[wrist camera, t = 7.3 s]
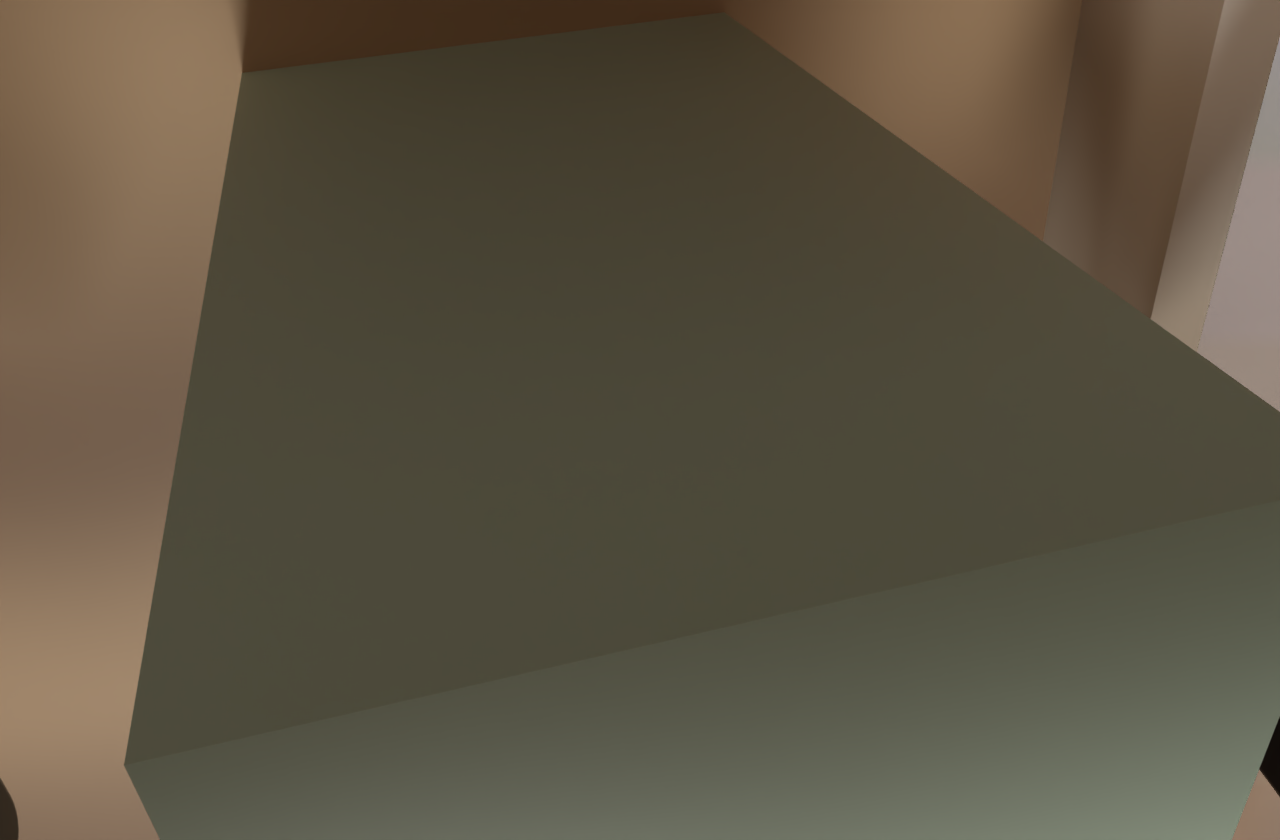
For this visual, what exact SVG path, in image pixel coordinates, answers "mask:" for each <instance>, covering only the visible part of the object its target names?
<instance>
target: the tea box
mask: <svg viewBox="0 0 1280 840" xmlns="http://www.w3.org/2000/svg"><path fill="white" fill-rule="evenodd" d="M1279 717H1280V412H1279V411H1278V410H1276V409H1275V408H1273V407H1272V406H1271V405H1269V404H1268V403H1266V402H1265V401H1264V400H1262V399H1261V398H1260V397H1258V396H1257V395H1255V394H1254V393H1253V392H1251V391H1250V390H1248V389H1247V388H1246V387H1244V386H1243V385H1241V384H1240V383H1239V382H1237V381H1236V380H1235V379H1233V378H1232V377H1230V376H1229V375H1228V374H1226V373H1225V372H1223V371H1222V370H1221V369H1219V368H1218V367H1216V366H1215V365H1214V364H1212V363H1211V362H1210V361H1208V360H1207V359H1205V358H1204V357H1203V356H1201V355H1200V354H1198V353H1197V352H1196V351H1194V350H1193V349H1191V348H1190V347H1189V346H1187V345H1186V344H1185V343H1183V342H1182V341H1180V340H1179V339H1178V338H1176V337H1175V336H1173V335H1172V334H1171V333H1169V332H1168V331H1166V330H1165V329H1164V328H1162V327H1161V326H1159V325H1158V324H1157V323H1155V322H1154V321H1153V320H1151V319H1150V318H1148V317H1147V316H1146V315H1144V314H1143V313H1141V312H1140V311H1139V310H1137V309H1136V308H1134V307H1133V306H1132V305H1130V304H1129V303H1128V302H1126V301H1125V300H1123V299H1122V298H1121V297H1119V296H1118V295H1116V294H1115V293H1114V292H1112V291H1111V290H1109V289H1108V288H1107V287H1105V286H1104V285H1103V284H1101V283H1100V282H1098V281H1097V280H1096V279H1094V278H1093V277H1091V276H1090V275H1089V274H1087V273H1086V272H1084V271H1083V270H1082V269H1080V268H1079V267H1078V266H1076V265H1075V264H1073V263H1072V262H1071V261H1069V260H1068V259H1066V258H1065V257H1064V256H1062V255H1061V254H1059V253H1058V252H1057V251H1055V250H1054V249H1052V248H1051V247H1050V246H1048V245H1047V244H1046V243H1044V242H1043V241H1041V240H1040V239H1039V238H1037V237H1036V236H1034V235H1033V234H1032V233H1030V232H1029V231H1027V230H1026V229H1025V228H1023V227H1022V226H1021V225H1019V224H1018V223H1016V222H1015V221H1014V220H1012V219H1011V218H1009V217H1008V216H1007V215H1005V214H1004V213H1002V212H1001V211H1000V210H998V209H997V208H996V207H994V206H993V205H991V204H990V203H989V202H987V201H986V200H984V199H983V198H982V197H980V196H979V195H977V194H976V193H975V192H973V191H972V190H971V189H969V188H968V187H966V186H965V185H964V184H962V183H961V182H959V181H958V180H957V179H955V178H954V177H952V176H951V175H950V174H948V173H947V172H945V171H944V170H943V169H941V168H940V167H939V166H937V165H936V164H934V163H933V162H932V161H930V160H929V159H927V158H926V157H925V156H923V155H922V154H920V153H919V152H918V151H916V150H915V149H914V148H912V147H911V146H909V145H908V144H907V143H905V142H904V141H902V140H901V139H900V138H898V137H897V136H895V135H894V134H893V133H891V132H890V131H889V130H887V129H886V128H884V127H883V126H882V125H880V124H879V123H877V122H876V121H875V120H873V119H872V118H870V117H869V116H868V115H866V114H865V113H864V112H862V111H861V110H859V109H858V108H857V107H855V106H854V105H852V104H851V103H850V102H848V101H847V100H845V99H844V98H843V97H841V96H840V95H838V94H837V93H836V92H834V91H833V90H832V89H830V88H829V87H827V86H826V85H825V84H823V83H822V82H820V81H819V80H818V79H816V78H815V77H813V76H812V75H811V74H809V73H808V72H807V71H805V70H804V69H802V68H801V67H800V66H798V65H797V64H795V63H794V62H793V61H791V60H790V59H788V58H787V57H786V56H784V55H783V54H782V53H780V52H779V51H777V50H776V49H775V48H773V47H772V46H770V45H769V44H768V43H766V42H765V41H763V40H762V39H761V38H759V37H758V36H757V35H755V34H754V33H752V32H751V31H750V30H748V29H747V28H745V27H744V26H743V25H741V24H740V23H738V22H737V21H736V20H734V19H733V18H731V17H730V16H729V15H727V14H726V13H725V12H722V13H714V14H706V15H698V16H690V17H682V18H674V19H666V20H659V21H651V22H643V23H635V24H627V25H619V26H611V27H603V28H595V29H587V30H579V31H571V32H563V33H555V34H547V35H539V36H531V37H523V38H516V39H508V40H500V41H492V42H484V43H476V44H468V45H460V46H452V47H444V48H436V49H428V50H420V51H412V52H404V53H396V54H388V55H380V56H372V57H365V58H357V59H349V60H341V61H333V62H325V63H317V64H309V65H301V66H293V67H285V68H277V69H269V70H261V71H253V72H245V73H242V76H241V82H240V88H239V93H238V99H237V105H236V111H235V117H234V123H233V129H232V134H231V140H230V146H229V152H228V158H227V164H226V170H225V176H224V181H223V187H222V193H221V199H220V205H219V211H218V217H217V222H216V228H215V234H214V240H213V246H212V252H211V258H210V263H209V269H208V275H207V281H206V287H205V293H204V299H203V304H202V310H201V316H200V322H199V328H198V334H197V340H196V346H195V351H194V357H193V363H192V369H191V375H190V381H189V387H188V392H187V398H186V404H185V410H184V416H183V422H182V428H181V433H180V439H179V445H178V451H177V457H176V463H175V469H174V474H173V480H172V486H171V492H170V498H169V504H168V510H167V516H166V521H165V527H164V533H163V539H162V545H161V551H160V557H159V562H158V568H157V574H156V580H155V586H154V592H153V598H152V603H151V609H150V615H149V621H148V627H147V633H146V639H145V644H144V650H143V656H142V662H141V668H140V674H139V680H138V686H137V691H136V697H135V703H134V709H133V715H132V721H131V727H130V732H129V738H128V744H127V750H126V756H125V762H124V767H125V769H126V771H127V773H128V775H129V777H130V779H131V781H132V783H133V785H134V787H135V789H136V791H137V793H138V795H139V797H140V799H141V802H142V804H143V806H144V808H145V810H146V812H147V814H148V816H149V818H150V820H151V822H152V824H153V826H154V828H155V830H156V832H157V834H158V836H159V838H160V840H1232V837H1233V835H1234V832H1235V830H1236V827H1237V824H1238V822H1239V819H1240V817H1241V814H1242V812H1243V809H1244V807H1245V804H1246V801H1247V799H1248V796H1249V794H1250V791H1251V789H1252V786H1253V784H1254V781H1255V778H1256V776H1257V773H1258V771H1259V768H1260V766H1261V763H1262V760H1263V758H1264V755H1265V753H1266V750H1267V748H1268V745H1269V743H1270V740H1271V737H1272V735H1273V732H1274V730H1275V727H1276V725H1277V722H1278V720H1279Z"/></svg>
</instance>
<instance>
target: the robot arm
mask: <svg viewBox="0 0 1280 840" xmlns="http://www.w3.org/2000/svg"><path fill="white" fill-rule="evenodd" d="M1259 770H1260V771H1261V772H1262V774H1263V775H1264V776H1265V778H1266V779H1267V780H1268V782H1269V783H1270V784H1271V786H1272V787H1273V788H1274V790H1275V791H1276V792H1277V794H1278V795H1279V797H1280V717H1279V720H1278V722H1277V725H1276V727H1275V730H1274V732H1273V735H1272V737H1271V740H1270V743H1269V745H1268V748H1267V750H1266V753H1265V755H1264V758H1263V760H1262V763H1261V766H1260V768H1259ZM18 839H19V826H18V817H17V811H16V808H15V805H14V802H13V800H12V797H11V795H10V794H9V792H8V790H7V788H6V787H5V785H4V783H3V781H2V780H1V778H0V840H18Z"/></svg>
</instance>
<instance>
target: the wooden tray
mask: <svg viewBox="0 0 1280 840" xmlns="http://www.w3.org/2000/svg"><path fill="white" fill-rule="evenodd" d="M722 12H725V13H726V14H727V15H729V16H730V17H731V18H733V19H734V20H736V21H737V22H738V23H740V24H741V25H743V26H744V27H745V28H747V29H748V30H750V31H751V32H752V33H754V34H755V35H757V36H758V37H759V38H761V39H762V40H763V41H765V42H766V43H768V44H769V45H770V46H772V47H773V48H775V49H776V50H777V51H779V52H780V53H782V54H783V55H784V56H786V57H787V58H788V59H790V60H791V61H793V62H794V63H795V64H797V65H798V66H800V67H801V68H802V69H804V70H805V71H807V72H808V73H809V74H811V75H812V76H813V77H815V78H816V79H818V80H819V81H820V82H822V83H823V84H825V85H826V86H827V87H829V88H830V89H832V90H833V91H834V92H836V93H837V94H838V95H840V96H841V97H843V98H844V99H845V100H847V101H848V102H850V103H851V104H852V105H854V106H855V107H857V108H858V109H859V110H861V111H862V112H864V113H865V114H866V115H868V116H869V117H870V118H872V119H873V120H875V121H876V122H877V123H879V124H880V125H882V126H883V127H884V128H886V129H887V130H889V131H890V132H891V133H893V134H894V135H895V136H897V137H898V138H900V139H901V140H902V141H904V142H905V143H907V144H908V145H909V146H911V147H912V148H914V149H915V150H916V151H918V152H919V153H920V154H922V155H923V156H925V157H926V158H927V159H929V160H930V161H932V162H933V163H934V164H936V165H937V166H939V167H940V168H941V169H943V170H944V171H945V172H947V173H948V174H950V175H951V176H952V177H954V178H955V179H957V180H958V181H959V182H961V183H962V184H964V185H965V186H966V187H968V188H969V189H971V190H972V191H973V192H975V193H976V194H977V195H979V196H980V197H982V198H983V199H984V200H986V201H987V202H989V203H990V204H991V205H993V206H994V207H996V208H997V209H998V210H1000V211H1001V212H1002V213H1004V214H1005V215H1007V216H1008V217H1009V218H1011V219H1012V220H1014V221H1015V222H1016V223H1018V224H1019V225H1021V226H1022V227H1023V228H1025V229H1026V230H1027V231H1029V232H1030V233H1032V234H1033V235H1034V236H1036V237H1037V238H1039V239H1040V240H1041V241H1043V242H1044V243H1046V244H1047V245H1048V246H1050V247H1051V248H1052V249H1054V250H1055V251H1057V252H1058V253H1059V254H1061V255H1062V256H1064V257H1065V258H1066V259H1068V260H1069V261H1071V262H1072V263H1073V264H1075V265H1076V266H1078V267H1079V268H1080V269H1082V270H1083V271H1084V272H1086V273H1087V274H1089V275H1090V276H1091V277H1093V278H1094V279H1096V280H1097V281H1098V282H1100V283H1101V284H1103V285H1104V286H1105V287H1107V288H1108V289H1109V290H1111V291H1112V292H1114V293H1115V294H1116V295H1118V296H1119V297H1121V298H1122V299H1123V300H1125V301H1126V302H1128V303H1129V304H1130V305H1132V306H1133V307H1134V308H1136V309H1137V310H1139V311H1140V312H1141V313H1143V314H1144V315H1146V316H1147V317H1148V318H1150V319H1151V320H1153V321H1154V322H1155V323H1157V324H1158V325H1159V326H1161V327H1162V328H1164V329H1165V330H1166V331H1168V332H1169V333H1171V334H1172V335H1173V336H1175V337H1176V338H1178V339H1179V340H1180V341H1182V342H1183V343H1185V344H1186V345H1187V346H1189V347H1190V348H1191V349H1193V350H1194V351H1196V352H1197V349H1198V345H1199V341H1200V337H1201V333H1202V330H1203V326H1204V322H1205V318H1206V314H1207V311H1208V307H1209V303H1210V299H1211V295H1212V291H1213V288H1214V284H1215V280H1216V276H1217V272H1218V269H1219V265H1220V261H1221V257H1222V253H1223V250H1224V246H1225V242H1226V238H1227V234H1228V231H1229V227H1230V223H1231V219H1232V215H1233V212H1234V208H1235V204H1236V200H1237V196H1238V193H1239V189H1240V185H1241V181H1242V177H1243V174H1244V170H1245V166H1246V162H1247V158H1248V155H1249V151H1250V147H1251V143H1252V139H1253V136H1254V132H1255V128H1256V124H1257V120H1258V117H1259V113H1260V109H1261V105H1262V101H1263V98H1264V94H1265V90H1266V86H1267V82H1268V79H1269V75H1270V71H1271V67H1272V63H1273V60H1274V56H1275V52H1276V48H1277V44H1278V41H1279V37H1280V0H0V778H1V780H2V781H3V783H4V785H5V787H6V788H7V790H8V792H9V794H10V795H11V797H12V800H13V802H14V805H15V808H16V811H17V817H18V826H19V839H18V840H160V838H159V836H158V834H157V832H156V830H155V828H154V826H153V824H152V822H151V820H150V818H149V816H148V814H147V812H146V810H145V808H144V806H143V804H142V802H141V799H140V797H139V795H138V793H137V791H136V789H135V787H134V785H133V783H132V781H131V779H130V777H129V775H128V773H127V771H126V769H125V767H124V762H125V756H126V750H127V744H128V738H129V732H130V727H131V721H132V715H133V709H134V703H135V697H136V691H137V686H138V680H139V674H140V668H141V662H142V656H143V650H144V644H145V639H146V633H147V627H148V621H149V615H150V609H151V603H152V598H153V592H154V586H155V580H156V574H157V568H158V562H159V557H160V551H161V545H162V539H163V533H164V527H165V521H166V516H167V510H168V504H169V498H170V492H171V486H172V480H173V474H174V469H175V463H176V457H177V451H178V445H179V439H180V433H181V428H182V422H183V416H184V410H185V404H186V398H187V392H188V387H189V381H190V375H191V369H192V363H193V357H194V351H195V346H196V340H197V334H198V328H199V322H200V316H201V310H202V304H203V299H204V293H205V287H206V281H207V275H208V269H209V263H210V258H211V252H212V246H213V240H214V234H215V228H216V222H217V217H218V211H219V205H220V199H221V193H222V187H223V181H224V176H225V170H226V164H227V158H228V152H229V146H230V140H231V134H232V129H233V123H234V117H235V111H236V105H237V99H238V93H239V88H240V82H241V76H242V73H245V72H253V71H261V70H269V69H277V68H285V67H293V66H301V65H309V64H317V63H325V62H333V61H341V60H349V59H357V58H365V57H372V56H380V55H388V54H396V53H404V52H412V51H420V50H428V49H436V48H444V47H452V46H460V45H468V44H476V43H484V42H492V41H500V40H508V39H516V38H523V37H531V36H539V35H547V34H555V33H563V32H571V31H579V30H587V29H595V28H603V27H611V26H619V25H627V24H635V23H643V22H651V21H659V20H666V19H674V18H682V17H690V16H698V15H706V14H714V13H722Z"/></svg>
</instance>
